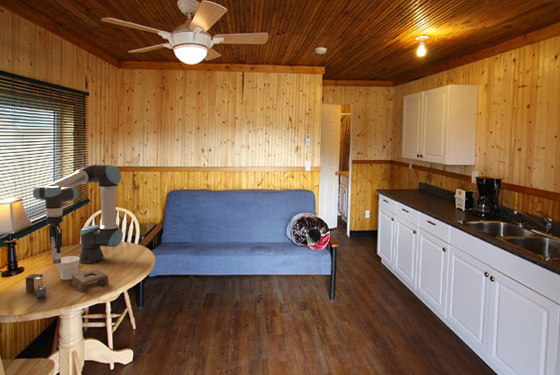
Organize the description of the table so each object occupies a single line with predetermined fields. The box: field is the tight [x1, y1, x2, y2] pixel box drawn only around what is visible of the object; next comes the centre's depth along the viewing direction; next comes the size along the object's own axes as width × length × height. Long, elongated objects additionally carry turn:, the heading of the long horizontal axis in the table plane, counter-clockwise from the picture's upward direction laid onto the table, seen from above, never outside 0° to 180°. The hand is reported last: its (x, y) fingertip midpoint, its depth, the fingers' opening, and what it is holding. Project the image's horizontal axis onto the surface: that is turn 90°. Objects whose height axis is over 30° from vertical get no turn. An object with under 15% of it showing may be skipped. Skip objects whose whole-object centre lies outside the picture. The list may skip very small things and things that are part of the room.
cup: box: [55, 255, 80, 281], centre depth 225 cm, size 12×12×11 cm
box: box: [25, 273, 44, 292], centre depth 208 cm, size 6×6×7 cm
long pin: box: [51, 237, 61, 265], centre depth 204 cm, size 4×4×14 cm
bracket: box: [71, 268, 109, 293], centre depth 215 cm, size 14×14×6 cm
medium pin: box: [34, 277, 44, 295], centre depth 203 cm, size 4×4×8 cm
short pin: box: [36, 286, 47, 300], centre depth 198 cm, size 4×4×5 cm
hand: (56, 257), depth 205 cm, fingers closed on long pin, 4 cm apart
